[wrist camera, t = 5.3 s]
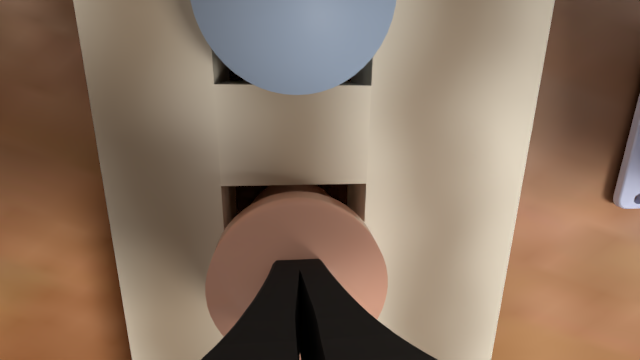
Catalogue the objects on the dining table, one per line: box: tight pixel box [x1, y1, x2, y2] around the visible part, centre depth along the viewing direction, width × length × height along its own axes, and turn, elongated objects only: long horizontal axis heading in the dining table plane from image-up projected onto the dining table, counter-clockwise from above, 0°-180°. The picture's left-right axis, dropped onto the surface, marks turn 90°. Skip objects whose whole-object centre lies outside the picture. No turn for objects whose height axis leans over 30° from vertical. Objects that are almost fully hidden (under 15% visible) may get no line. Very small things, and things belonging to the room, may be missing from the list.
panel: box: [73, 0, 555, 360], centre depth 15 cm, size 14×28×4 cm, turn 179°
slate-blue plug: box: [190, 0, 396, 95], centre depth 11 cm, size 5×5×5 cm
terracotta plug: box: [205, 184, 388, 360], centre depth 13 cm, size 5×5×5 cm
